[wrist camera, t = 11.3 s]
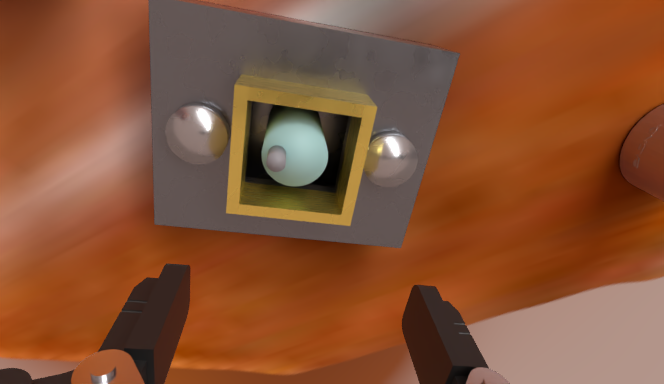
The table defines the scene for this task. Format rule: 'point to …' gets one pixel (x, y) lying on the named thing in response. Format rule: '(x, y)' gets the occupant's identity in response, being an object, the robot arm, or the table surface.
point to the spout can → (294, 146)
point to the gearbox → (293, 91)
